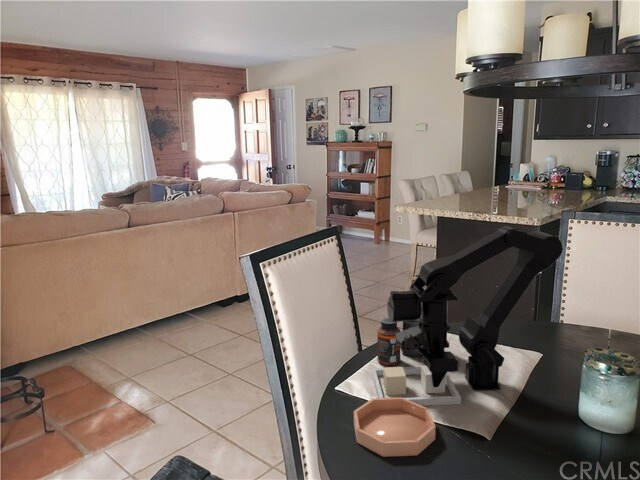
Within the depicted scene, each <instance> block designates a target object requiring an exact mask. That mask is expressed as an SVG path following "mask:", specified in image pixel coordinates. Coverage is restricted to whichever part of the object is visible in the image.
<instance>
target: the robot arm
mask: <svg viewBox="0 0 640 480" xmlns="http://www.w3.org/2000/svg"><path fill="white" fill-rule="evenodd" d="M510 248H517V249H518V251H517V252H518V253H517V258H516V263H515V265H514V266H513V268H512V269H511V271H510V272H509V273H508V275H507V277H506V278H505V280H504V281H503V282H502V284H501V285H500V287H499V288H498V290H497V291H496V293H495V294H494V296H493V297H492V299H491V300H490V301H489V303H488V304H487V306H486V308H484V310H483V312H481V314H480V315H478V316H477V317H475V318H474V317H472V316H471V315H469V316H467V318H466V320H465V322H464V323H463V325H462V326H461V327H459V330H460V332H459V334H458V338H459V343H460V345H461V346H462V347H463V348H464V349H465V350H466V352H467V353H468V354H469V356H468V357H467V362H465V373H464V379H465V380H466V382H467V384H468V385H469V386H470V387H471V389H472V390H473V391H488V390H489V391H491V390H501V388H502V386H501V384H499V373H500V371H499V370H500V368H501V367H502V366H503V363H504V362H505V357H504V356H503V355H501V354H500V353H499V351H497V350H496V347H497V345H498V343H499V340H500V332H501V328H502V327H503V324H504V323H505V321H506V320H507V319H508V317H509V315H510V314H511V313H512V311H513V310H514V309H515V307H516V305H517V304H518V303H519V301H520V299H521V298H523V295H524V294H525V292H526V291H527V290H528V288H529V287H530V285H531V284H532V282H533V281H534V279H535V278H536V277H537V275H539V274H540V273H542V272H544V271H546V270H547V269H549V268H550V267H552V266H553V264H554V263H556V261H557V260H558V259H559V258H560V257H561V255H562V254H563V251H564V247H563V244H562V242H561V240H560V239H559V237H557V236H554V235H552V234H549V233H545V232H543V231H540V230H535V231H529V232H527V231H522V230H519V229H516V228H513V227H510V226H507V225H504V226H503V225H502V226H501V227H499V228H498V229H497V230H496V231H494V232H492V233H490V234H489V235H486V236H485V237H483V238H482V239H480V240H478V241H476V242H475V243H473V244H471V245H469V246H467V247H466V248H464V249H461V250H460V251H458V252H456V253H455V254H452V255H450V256H445V257H439V258H436V259H434V260H431V261H428V262H425V263H424V264H423V265H422V266H421V267H420V269H419V273H418V274H419V275H418V276H417V277H416V278H415V279H414V281H413V282H412V283H411V285H410V287H409V289H410V290H403V291H398V290H391V291H390V292H389V295H390V296H389V297H388V300H387V304H386V308H387V316H388V318H389V320H390V322H397V323H400V322H401V323H403V321H416V320H417V319H419V321H418V326H417V327H413V328H409V329H406V330H404V331H403V330H400V332H399V333H397V334H396V338H397V341H398V343H399V346H400V352H401V353H408V352H411V351H414V350H417V349H418V350H419V351H420V352H421V353H422V354H423V356H424V358H423V359H424V360H423V362H424V364H425V365H424V366H427V367H428V369H429V371H430V372H431V377H432V383H433V387H438V386H439V385H440V383H441V381H442V380H443V378H444V376H445V375H446V373H447V374H448V373H455V372H459V370H460V361H459V360H458V359H457V357H456V356H455V354H454V353H452V352H451V351H446V350H445V351H444V350H443V348H444V349H448V348H450V343H449V341H448V331H451V329H450V328H451V326H450V325H449V322H448V310H449V308H448V305H449V301H450V302H452V301H457V300H458V299H459V298H458V296H456V295H455V294H454V293H453V292H452V290H451V288H452V287H454V286H455V285H457V283H459V281H460V279H462V278H463V276H464V275H465V274H467V273H468V272H469V271H472V270H473V269H474V268H477V267H479V266H480V265H482V264H483V263H486V262H487V261H489V260H491V259H492V258H494V257H496V256H498V255H500V254H502V253H504V252H505V251H507V250H509V249H510ZM424 287H426V288H424ZM421 313H422V317H421V319H420V315H421Z"/></svg>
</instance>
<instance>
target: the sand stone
mask: <svg viewBox="0 0 640 480" xmlns="http://www.w3.org/2000/svg"><path fill="white" fill-rule="evenodd" d="M403 368H404V367H403V366H393V367H391V366H390V367H389V366H388V367H386V366H385V367H383V376H382V377H383V378H382V380H383V383H382V384H383V385H382V386H383V389H384V388H385V389H384V392H385V395H390V396H391V395H406V394H407V375H405V372H404V370H403Z"/></svg>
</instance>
